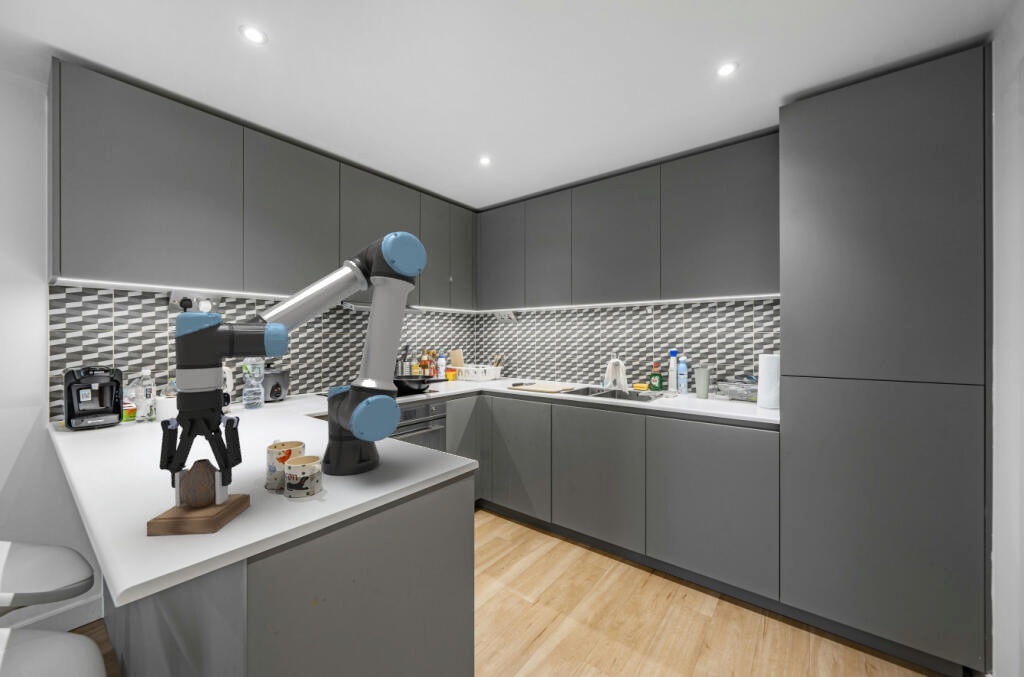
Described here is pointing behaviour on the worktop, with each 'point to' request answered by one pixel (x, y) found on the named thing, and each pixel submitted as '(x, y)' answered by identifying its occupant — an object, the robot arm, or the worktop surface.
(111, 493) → the worktop surface
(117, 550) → the worktop surface
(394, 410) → the robot arm
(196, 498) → the vase
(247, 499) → the tray
